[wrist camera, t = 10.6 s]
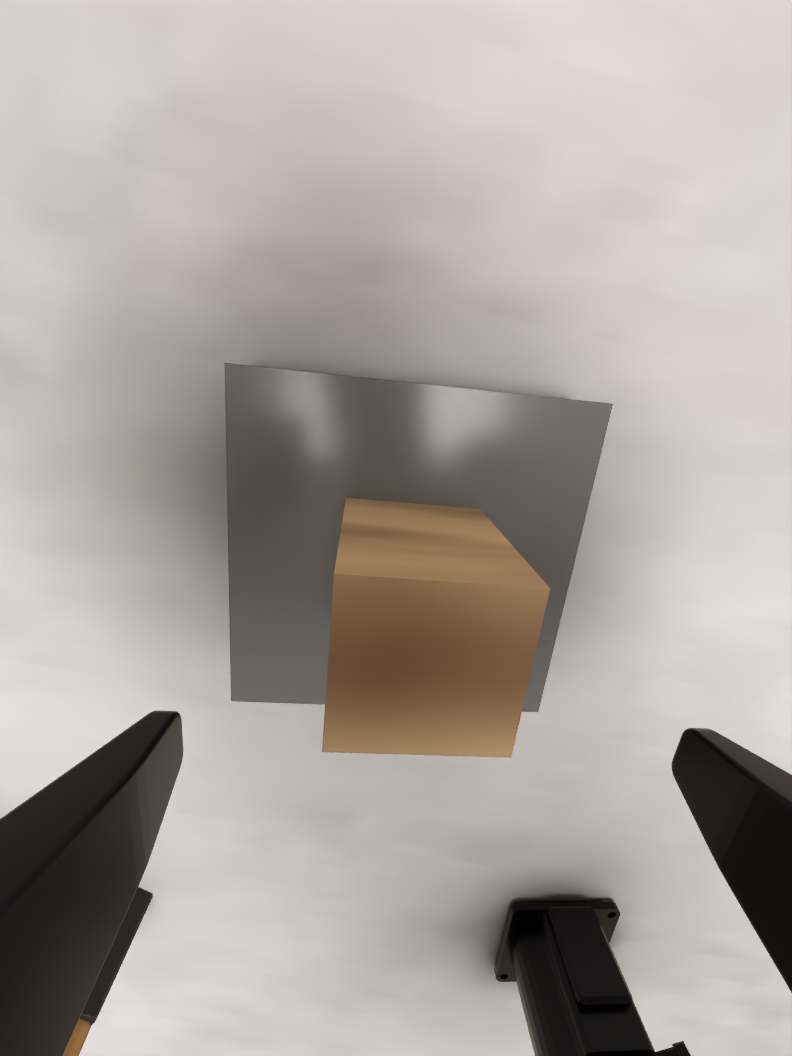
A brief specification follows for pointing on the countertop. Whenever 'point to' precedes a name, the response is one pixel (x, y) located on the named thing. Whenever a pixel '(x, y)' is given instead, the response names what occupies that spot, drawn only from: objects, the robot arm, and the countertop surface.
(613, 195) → the countertop surface
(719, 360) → the countertop surface
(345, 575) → the wooden block
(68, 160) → the countertop surface
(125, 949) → the ammunition clip
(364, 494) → the slate base
